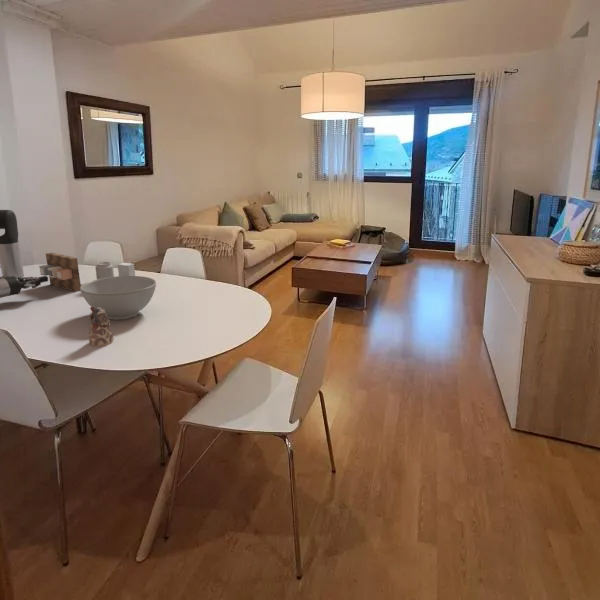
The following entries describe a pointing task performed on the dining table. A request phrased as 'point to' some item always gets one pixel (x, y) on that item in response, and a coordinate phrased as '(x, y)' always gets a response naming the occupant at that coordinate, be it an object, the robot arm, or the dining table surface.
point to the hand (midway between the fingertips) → (47, 278)
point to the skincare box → (126, 269)
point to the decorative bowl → (119, 295)
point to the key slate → (45, 269)
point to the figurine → (99, 328)
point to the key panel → (65, 263)
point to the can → (104, 270)
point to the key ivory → (54, 271)
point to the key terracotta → (64, 274)
